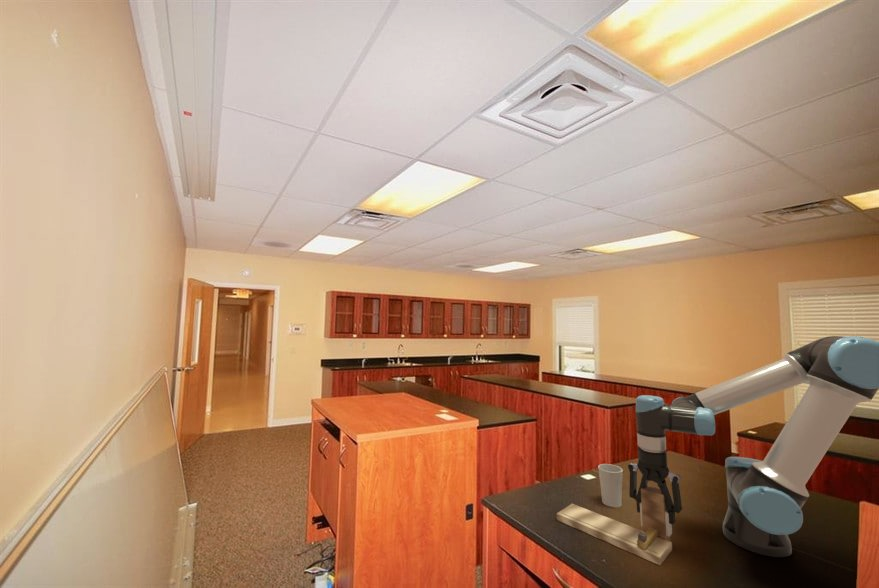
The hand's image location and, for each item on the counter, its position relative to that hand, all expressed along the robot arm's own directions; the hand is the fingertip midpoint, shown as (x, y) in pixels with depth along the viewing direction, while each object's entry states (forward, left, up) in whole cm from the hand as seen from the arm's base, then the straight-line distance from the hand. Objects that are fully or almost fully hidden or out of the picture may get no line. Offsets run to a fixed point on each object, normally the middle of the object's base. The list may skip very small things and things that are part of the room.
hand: (656, 529), depth 106 cm
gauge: (0, +5, -3) cm, 6 cm away
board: (+10, +7, -3) cm, 13 cm away
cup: (+18, -13, -3) cm, 23 cm away
